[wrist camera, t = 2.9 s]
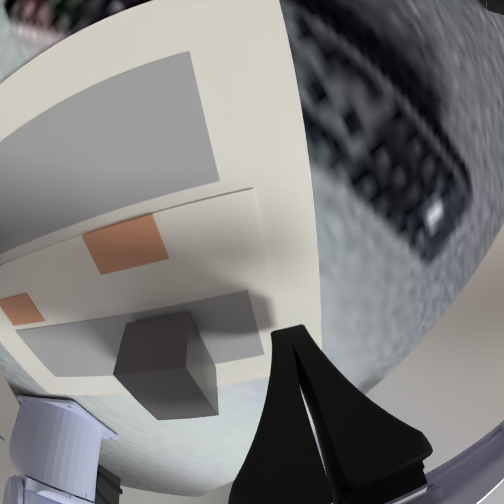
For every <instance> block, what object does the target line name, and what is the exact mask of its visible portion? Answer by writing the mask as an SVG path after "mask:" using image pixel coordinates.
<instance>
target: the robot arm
mask: <svg viewBox="0 0 504 504" xmlns="http://www.w3.org/2000/svg"><path fill="white" fill-rule="evenodd" d="M270 334H271V342H272V358H271V370H270V378H269V384H268V390H267V395H266V400H265V404H264V408H263V412H262V416H261V419H260V422H259V425H258V428H257V431H256V434H255V437H254V440H253V442H252V445H251V447H250V450H249V452H248V454H247V457H246V459H245V461H244V463H243V465H242V467H241V469H240V471H239V473H238V475H237V477H236V479H235V480H234V482H233V484H232V488H231V492H230V496H229V501H228V504H331V503H333V504H393V503H395V502H397V501H399V500H401V499H404V498H406V497H408V496H410V495H412V494H414V493H416V492H418V491H420V490H422V489H424V488H426V487H427V490H426V492H425V493H423V494H420V495H418V496H416V497H413V498H411V499H410V500H407V501H405V502H403V503H401V504H478V503H479V502H481V501H482V500H483V499H484V498H485V497H486V496H487V495H488V494H490V493H491V492H492V491H493V490H494V489H495V488H496V487H497V486H498V485H499V484H500V483H501V482H502V481H503V480H504V421H502V422H501V423H500V424H499V425H498V426H497V427H496V428H494V429H493V430H492V431H491V432H489V433H488V434H487V435H486V436H484V437H483V438H482V439H480V440H479V441H478V442H476V443H475V444H473V445H472V446H471V447H469V448H468V449H466V450H465V451H463V452H462V453H460V454H459V455H457V456H456V457H454V458H452V459H451V460H449V461H447V462H446V463H444V464H442V465H441V466H439V467H437V468H436V469H434V470H432V471H430V472H428V473H426V474H424V472H423V468H424V464H423V460H424V459H426V458H427V457H428V456H430V455H431V454H432V452H433V449H432V447H431V445H430V443H429V441H428V440H427V438H426V437H425V436H424V434H423V433H422V432H420V431H419V430H417V429H415V428H413V427H411V426H409V425H408V424H406V423H404V422H402V421H400V420H399V419H397V418H396V417H394V416H393V415H391V414H389V413H388V412H386V411H385V410H384V409H382V408H381V407H380V406H378V405H377V404H375V403H374V402H372V401H371V400H370V399H369V398H368V397H366V396H365V395H364V394H363V393H362V392H360V391H359V390H358V389H357V388H356V387H355V386H354V385H353V384H352V383H350V382H349V381H348V380H347V379H346V378H345V377H344V376H343V375H342V374H341V372H340V371H339V370H338V369H337V368H336V367H335V366H334V365H333V364H332V363H331V361H330V360H329V359H328V358H327V357H326V356H325V354H324V353H323V352H322V351H321V349H320V348H319V347H318V345H317V344H316V343H315V341H314V340H313V338H312V337H311V335H310V334H309V332H308V331H307V329H306V327H305V325H303V324H300V325H296V326H292V327H288V328H283V329H279V330H275V331H272V332H271V333H270ZM299 384H300V385H299ZM300 387H301V389H300ZM301 390H302V393H303V395H304V398H305V401H306V403H307V406H308V409H309V411H310V414H311V417H312V420H313V423H314V426H315V429H316V433H317V437H318V441H319V445H320V449H321V453H322V458H323V461H324V466H325V470H326V473H325V470H324V466H323V463H322V460H321V457H320V454H319V451H318V447H317V444H316V441H315V438H314V434H313V431H312V428H311V424H310V421H309V418H308V414H307V411H306V408H305V404H304V401H303V397H302V394H301ZM16 398H17V400H18V401H20V402H21V406H20V409H19V412H18V415H17V419H16V422H15V425H14V429H13V433H12V436H11V441H10V445H9V452H10V457H11V460H12V463H13V465H14V466H15V468H16V469H17V470H18V471H19V472H20V473H21V474H22V475H23V476H22V475H19V477H18V476H16V475H14V476H13V477H10V478H8V480H7V483H6V487H5V492H4V498H3V504H94V503H91V502H95V489H96V477H97V467H98V459H99V451H100V444H101V439H109V440H119V436H118V435H116V434H115V433H114V432H112V431H111V430H110V429H108V428H107V427H106V426H104V425H103V424H102V423H100V422H99V421H98V420H97V419H95V418H94V417H93V416H92V415H90V414H89V413H88V412H87V411H85V410H84V409H83V408H82V407H81V406H80V405H78V404H77V403H76V402H74V401H71V400H57V399H46V398H37V397H29V396H21V395H17V397H16ZM326 475H327V476H326Z"/></svg>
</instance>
